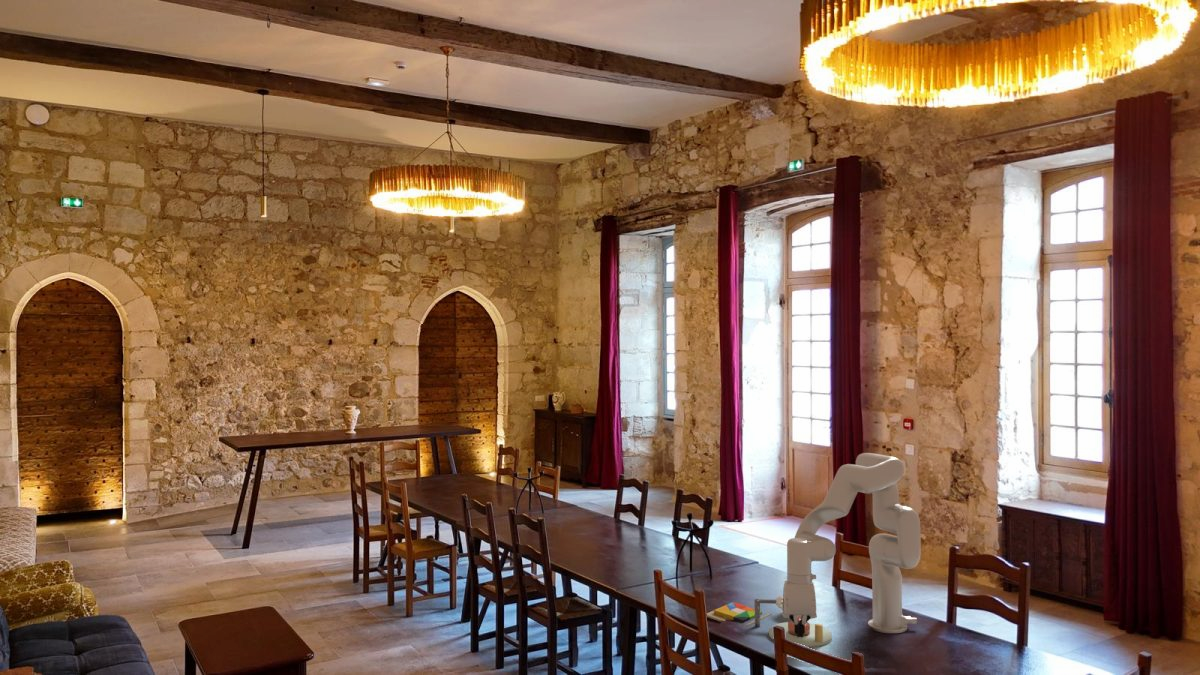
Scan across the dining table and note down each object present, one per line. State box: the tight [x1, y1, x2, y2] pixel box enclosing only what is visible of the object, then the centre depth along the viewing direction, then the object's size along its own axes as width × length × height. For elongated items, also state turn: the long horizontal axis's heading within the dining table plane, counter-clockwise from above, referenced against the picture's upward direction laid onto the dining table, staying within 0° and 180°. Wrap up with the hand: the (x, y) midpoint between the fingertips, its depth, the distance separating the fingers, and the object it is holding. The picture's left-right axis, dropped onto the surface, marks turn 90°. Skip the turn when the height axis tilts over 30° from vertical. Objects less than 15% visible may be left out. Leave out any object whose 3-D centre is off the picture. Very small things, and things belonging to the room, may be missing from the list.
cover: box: [787, 618, 810, 636], centre depth 282 cm, size 7×7×5 cm
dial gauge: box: [753, 596, 783, 628], centre depth 292 cm, size 12×5×11 cm, turn 85°
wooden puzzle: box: [706, 601, 772, 627], centre depth 305 cm, size 18×19×4 cm
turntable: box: [768, 621, 833, 648], centre depth 282 cm, size 20×20×6 cm
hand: (799, 635), depth 273 cm, fingers closed
